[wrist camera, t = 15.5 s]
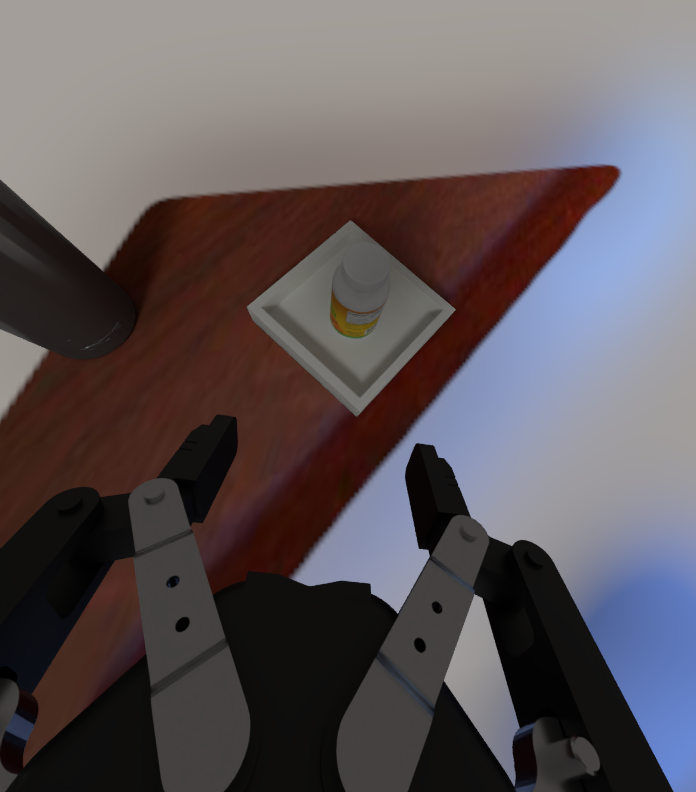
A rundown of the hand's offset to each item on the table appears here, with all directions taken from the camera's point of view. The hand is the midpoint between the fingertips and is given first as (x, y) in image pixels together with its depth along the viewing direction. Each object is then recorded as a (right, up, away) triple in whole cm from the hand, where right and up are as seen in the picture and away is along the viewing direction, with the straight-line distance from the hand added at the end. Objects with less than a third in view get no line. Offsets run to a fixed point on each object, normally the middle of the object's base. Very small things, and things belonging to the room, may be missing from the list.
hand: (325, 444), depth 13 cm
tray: (+1, +11, +21) cm, 24 cm away
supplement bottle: (+2, +11, +20) cm, 23 cm away
